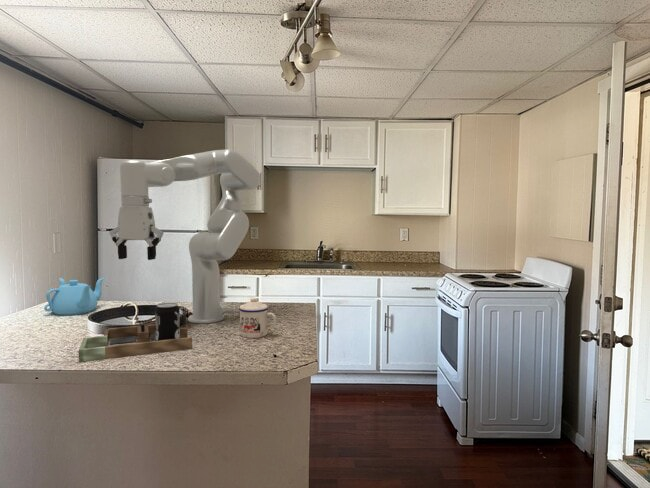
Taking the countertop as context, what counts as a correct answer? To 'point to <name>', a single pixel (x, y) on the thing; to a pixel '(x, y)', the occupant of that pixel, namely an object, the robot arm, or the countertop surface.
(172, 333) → the beverage can
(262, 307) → the teacup with lid
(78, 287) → the teapot
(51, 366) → the countertop surface
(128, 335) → the wooden tray
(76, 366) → the countertop surface
